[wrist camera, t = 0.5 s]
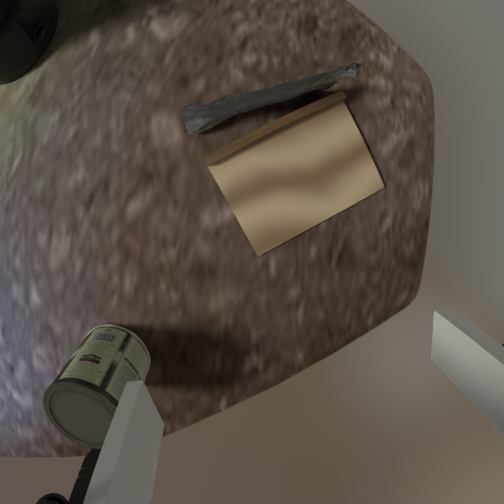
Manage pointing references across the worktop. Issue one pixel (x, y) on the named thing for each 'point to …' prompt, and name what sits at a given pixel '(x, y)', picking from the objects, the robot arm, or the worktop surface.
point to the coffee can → (95, 383)
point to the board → (295, 172)
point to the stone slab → (261, 97)
